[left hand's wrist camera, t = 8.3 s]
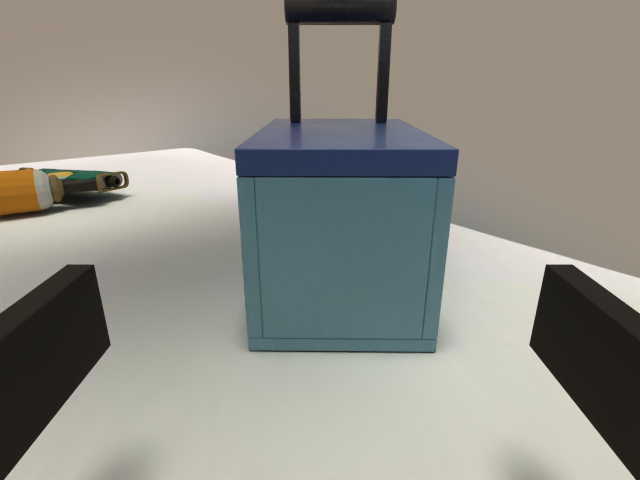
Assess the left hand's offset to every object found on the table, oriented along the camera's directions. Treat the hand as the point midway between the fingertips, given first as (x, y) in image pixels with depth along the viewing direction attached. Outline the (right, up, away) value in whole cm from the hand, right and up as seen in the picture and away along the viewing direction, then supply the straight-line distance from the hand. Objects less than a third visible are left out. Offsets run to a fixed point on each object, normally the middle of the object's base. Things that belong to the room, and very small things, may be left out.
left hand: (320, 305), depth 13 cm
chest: (+1, -1, +15) cm, 15 cm away
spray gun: (-32, +6, +35) cm, 48 cm away
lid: (+1, +7, +12) cm, 14 cm away
